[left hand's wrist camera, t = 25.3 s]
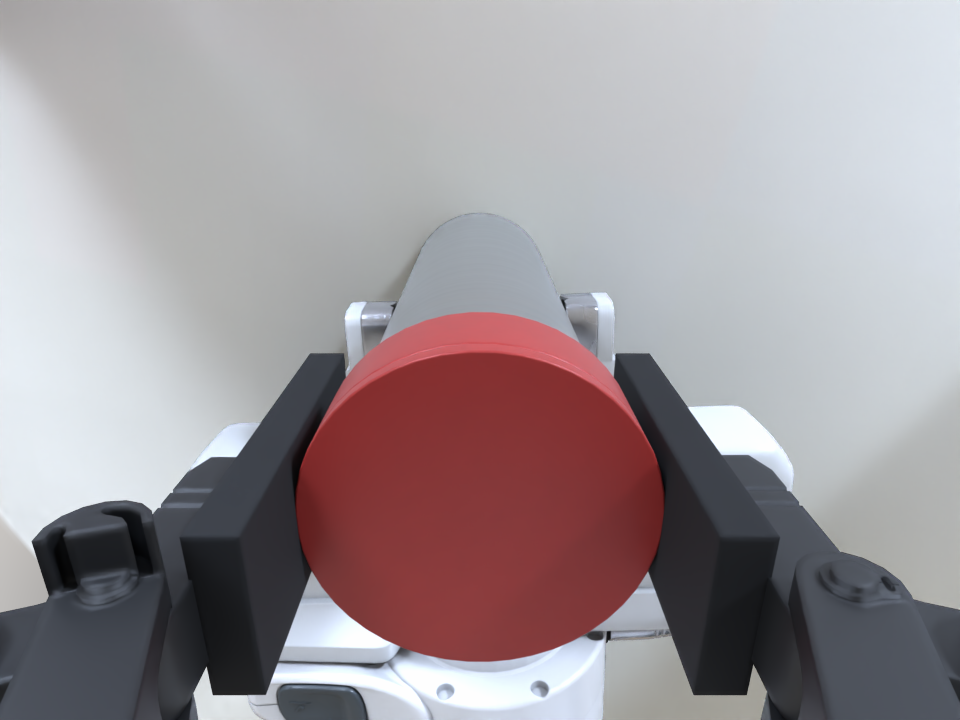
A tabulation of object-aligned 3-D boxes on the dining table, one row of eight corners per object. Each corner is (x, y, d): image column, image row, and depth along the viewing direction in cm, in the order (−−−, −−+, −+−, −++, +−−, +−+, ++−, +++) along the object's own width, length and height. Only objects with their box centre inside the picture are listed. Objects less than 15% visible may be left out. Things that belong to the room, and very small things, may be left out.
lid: (325, 577, 13) (299, 653, 11) (319, 298, 11) (287, 336, 9) (611, 594, 13) (632, 672, 12) (663, 323, 11) (700, 365, 9)
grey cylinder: (389, 281, 26) (271, 495, 11) (475, 184, 25) (469, 282, 10) (483, 362, 27) (487, 646, 13) (570, 274, 26) (689, 479, 11)
